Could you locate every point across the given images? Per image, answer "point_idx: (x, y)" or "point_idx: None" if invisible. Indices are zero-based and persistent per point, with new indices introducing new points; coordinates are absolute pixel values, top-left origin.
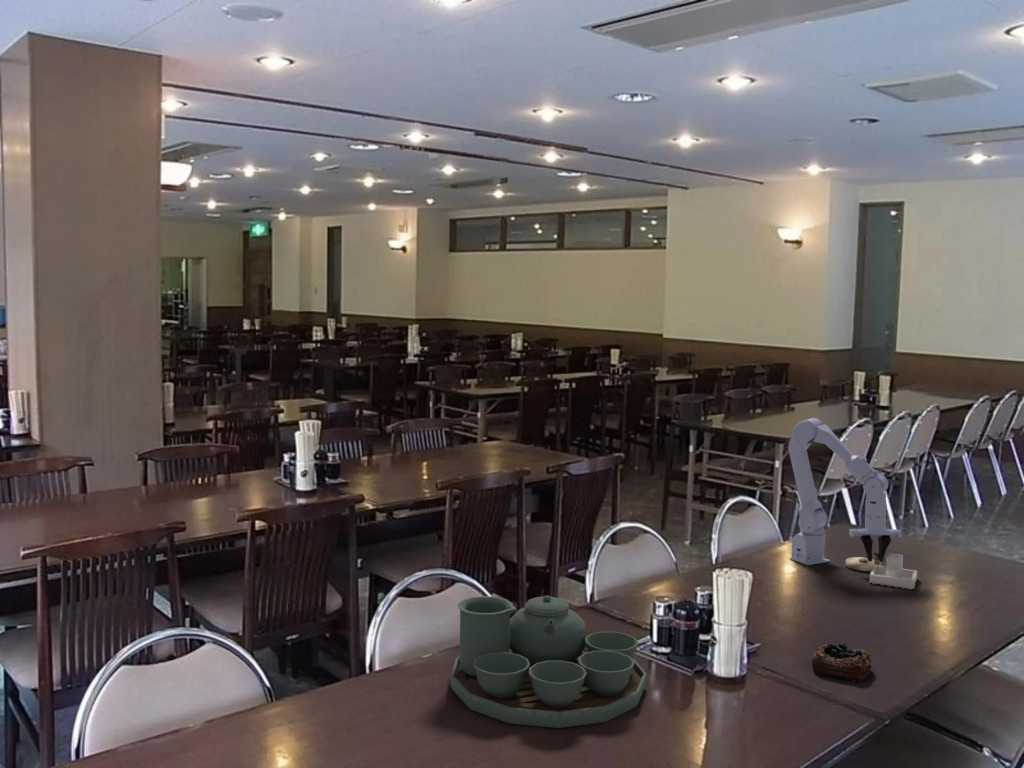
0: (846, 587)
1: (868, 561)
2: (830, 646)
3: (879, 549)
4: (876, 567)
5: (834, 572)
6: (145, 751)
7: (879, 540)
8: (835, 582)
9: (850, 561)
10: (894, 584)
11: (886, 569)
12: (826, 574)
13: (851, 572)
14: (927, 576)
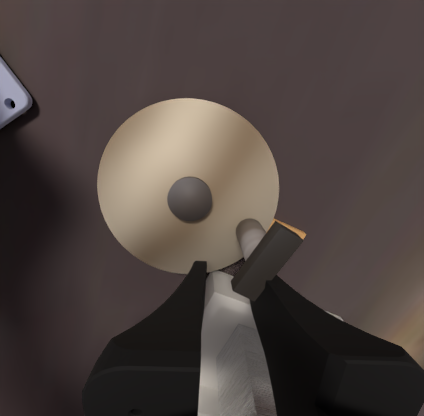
0: (73, 410)
1: (220, 190)
2: None
3: (272, 308)
4: (209, 323)
5: (47, 274)
6: None
7: (301, 373)
8: (42, 376)
9: (120, 201)
10: None
11: (220, 402)
12: (12, 302)
13: (120, 266)
14: (400, 282)
